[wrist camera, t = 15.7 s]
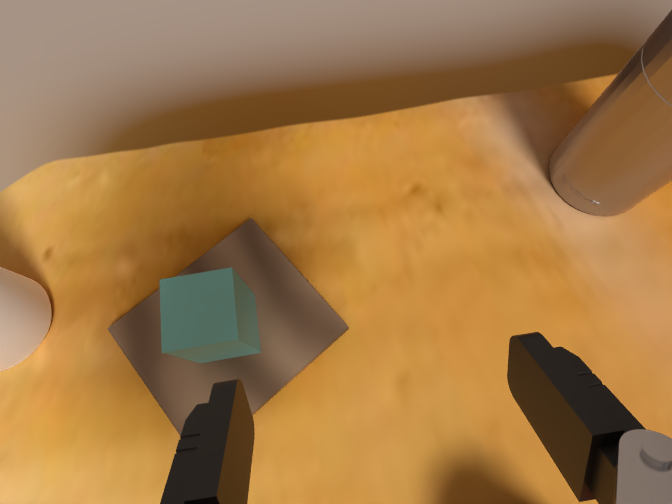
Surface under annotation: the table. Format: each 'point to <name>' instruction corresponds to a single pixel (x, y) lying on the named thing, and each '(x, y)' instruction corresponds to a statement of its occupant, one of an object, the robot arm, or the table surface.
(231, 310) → the tall teal pillar
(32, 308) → the alcohol
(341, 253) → the table surface
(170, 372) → the post board
